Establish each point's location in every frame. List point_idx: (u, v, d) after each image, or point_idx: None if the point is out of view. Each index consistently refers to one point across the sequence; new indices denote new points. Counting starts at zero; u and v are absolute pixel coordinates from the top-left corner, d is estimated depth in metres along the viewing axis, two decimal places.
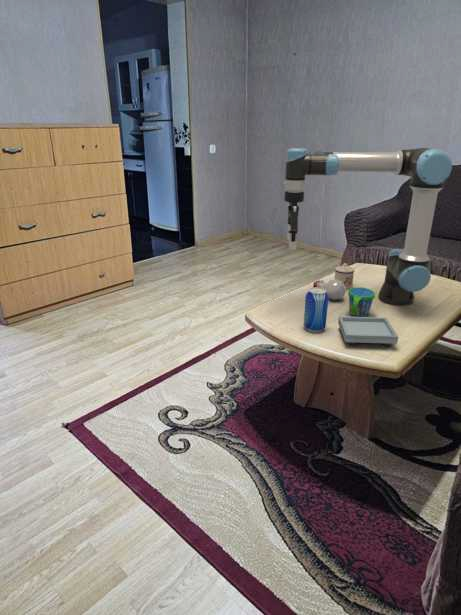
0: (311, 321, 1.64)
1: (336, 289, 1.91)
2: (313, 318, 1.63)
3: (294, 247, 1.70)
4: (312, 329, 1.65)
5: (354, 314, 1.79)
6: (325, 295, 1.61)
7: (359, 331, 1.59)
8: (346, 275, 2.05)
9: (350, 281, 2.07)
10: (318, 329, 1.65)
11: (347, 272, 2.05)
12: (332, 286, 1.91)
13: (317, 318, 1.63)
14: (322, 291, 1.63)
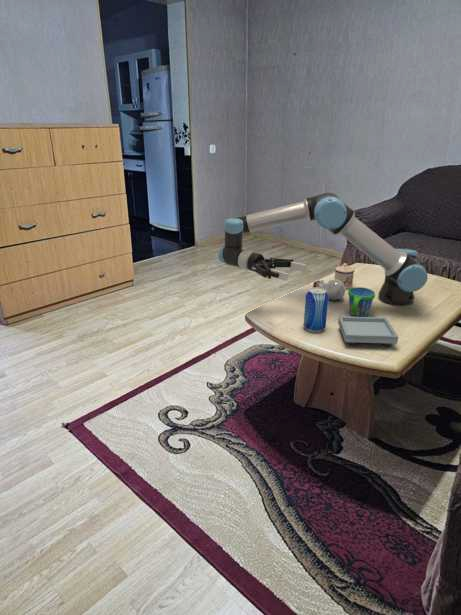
0: (311, 321, 1.64)
1: (336, 289, 1.91)
2: (313, 318, 1.63)
3: (284, 275, 1.62)
4: (312, 329, 1.65)
5: (354, 314, 1.79)
6: (325, 295, 1.61)
7: (359, 331, 1.59)
8: (346, 275, 2.05)
9: (350, 281, 2.07)
10: (318, 329, 1.65)
11: (347, 272, 2.05)
12: (332, 286, 1.91)
13: (317, 318, 1.63)
14: (322, 291, 1.63)
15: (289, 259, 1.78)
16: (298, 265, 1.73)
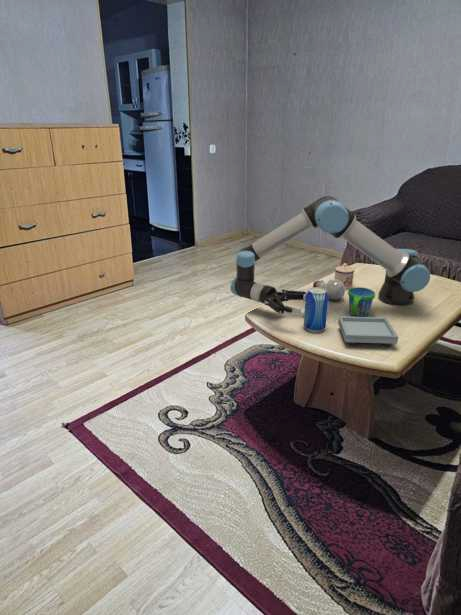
0: (311, 321, 1.64)
1: (335, 289, 1.91)
2: (313, 318, 1.63)
3: (298, 310, 1.62)
4: (312, 329, 1.65)
5: (354, 314, 1.79)
6: (325, 295, 1.61)
7: (359, 331, 1.59)
8: (346, 275, 2.05)
9: (350, 281, 2.07)
10: (318, 329, 1.65)
11: (347, 272, 2.05)
12: (332, 286, 1.91)
13: (317, 318, 1.63)
14: (322, 291, 1.63)
15: (301, 291, 1.78)
16: None
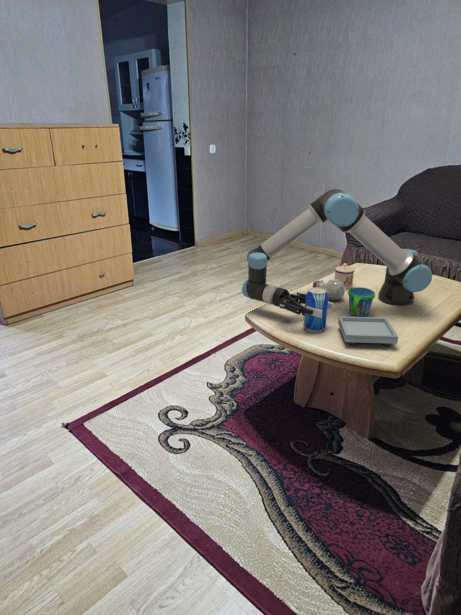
0: (311, 321, 1.64)
1: (335, 289, 1.91)
2: (313, 318, 1.63)
3: (319, 312, 1.60)
4: (312, 329, 1.65)
5: (354, 314, 1.79)
6: (325, 295, 1.61)
7: (359, 331, 1.59)
8: (346, 275, 2.05)
9: (350, 281, 2.07)
10: (318, 329, 1.65)
11: (347, 272, 2.05)
12: (332, 286, 1.91)
13: (317, 318, 1.63)
14: (322, 291, 1.63)
15: None
16: None
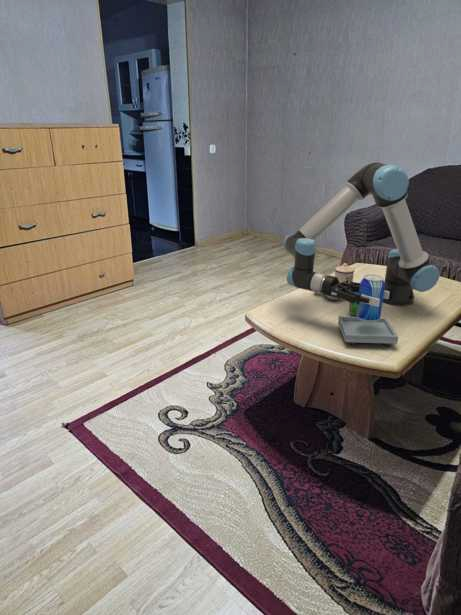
0: (366, 310, 1.53)
1: None
2: (369, 307, 1.52)
3: (376, 300, 1.49)
4: (367, 319, 1.54)
5: (354, 314, 1.79)
6: (382, 282, 1.50)
7: (359, 331, 1.59)
8: (346, 275, 2.05)
9: None
10: (373, 319, 1.54)
11: (347, 272, 2.05)
12: None
13: (373, 307, 1.52)
14: (378, 278, 1.52)
15: None
16: None
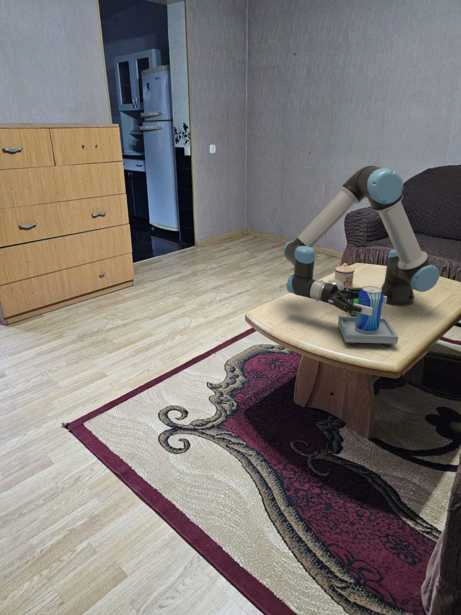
0: (364, 321, 1.55)
1: None
2: (367, 318, 1.54)
3: (369, 309, 1.49)
4: (365, 330, 1.56)
5: (354, 314, 1.79)
6: (381, 294, 1.52)
7: None
8: (346, 275, 2.05)
9: (350, 281, 2.07)
10: (372, 330, 1.56)
11: (347, 272, 2.05)
12: None
13: (371, 318, 1.54)
14: (377, 290, 1.54)
15: None
16: None
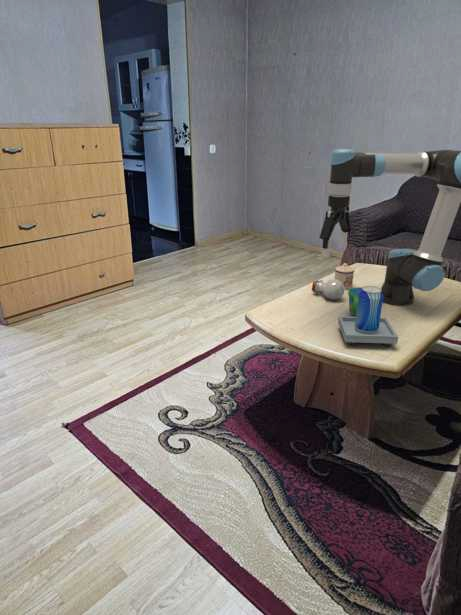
0: (364, 322, 1.55)
1: (335, 289, 1.91)
2: (367, 318, 1.54)
3: (326, 255, 1.58)
4: (365, 330, 1.56)
5: (354, 314, 1.79)
6: (380, 294, 1.52)
7: None
8: (346, 275, 2.05)
9: (350, 281, 2.07)
10: (372, 330, 1.56)
11: (347, 272, 2.05)
12: (331, 286, 1.91)
13: (371, 318, 1.54)
14: (377, 290, 1.54)
15: (350, 224, 1.67)
16: (344, 241, 1.67)
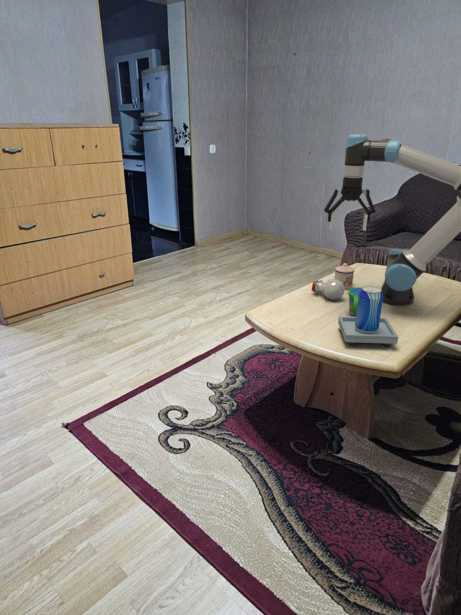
0: (364, 321, 1.55)
1: (335, 289, 1.91)
2: (367, 318, 1.54)
3: (330, 228, 1.80)
4: (365, 330, 1.56)
5: (354, 314, 1.79)
6: (380, 294, 1.52)
7: None
8: (346, 275, 2.05)
9: (350, 281, 2.07)
10: (372, 330, 1.56)
11: (347, 272, 2.05)
12: (331, 286, 1.91)
13: (371, 318, 1.54)
14: (377, 290, 1.54)
15: None
16: (364, 223, 1.78)
